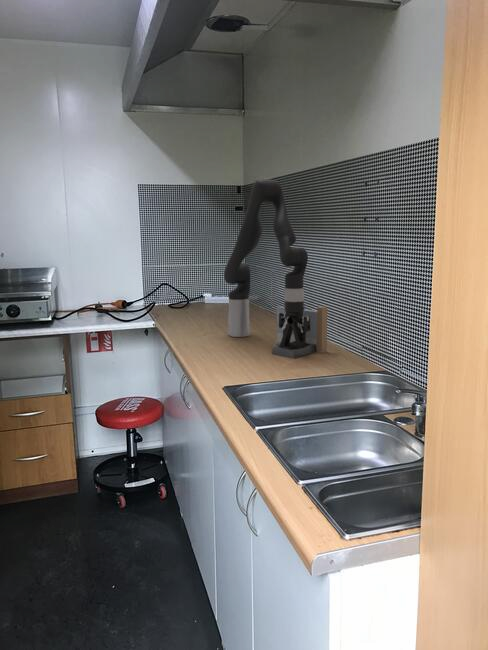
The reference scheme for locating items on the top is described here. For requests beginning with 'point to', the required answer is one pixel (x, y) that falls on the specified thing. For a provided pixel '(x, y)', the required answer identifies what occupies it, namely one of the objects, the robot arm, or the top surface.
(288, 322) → the door stopper
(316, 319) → the door
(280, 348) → the keeper
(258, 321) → the top surface
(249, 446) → the top surface
